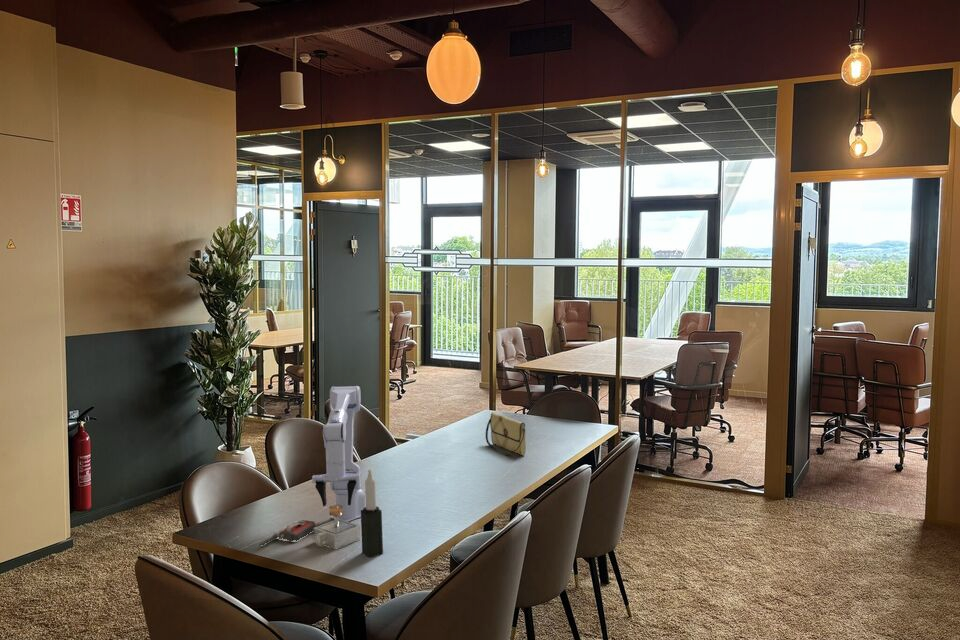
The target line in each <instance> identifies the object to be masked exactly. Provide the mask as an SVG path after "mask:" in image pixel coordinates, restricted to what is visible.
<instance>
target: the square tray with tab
mask: <svg viewBox="0 0 960 640" xmlns="http://www.w3.org/2000/svg"><path fill="white" fill-rule="evenodd" d="M338 521H341V522H344V523H348V524H351V525H354V526H355V527H352V528H349V529H347V530H344V531H341V532H339V533H336V534H333V533H330V532H327V531H324V530H321V529H318V528H319V527H322V526H325V525H327V524H330V523H333V522H334V520H332V521H328V522H326V523H323V524H321V525H319V526H316V527H315V528H313V533H312V534H313V542H314V541H315V542H317V543H316V546H317V547H319V548H322V547H326V546H329V547H331V548H334V549H336V548H338V549H340V548H339V547H341V548H343V547H345V546H344V545H346V546H348V545H350V544H349V543H351V544H353V543H355V542H354V541H356V542H358V541H361V524H357V523H354V522H351V521H349V522H347V521H344V520H341V519H338ZM352 542H353V543H352ZM347 544H348V545H347ZM325 545H326V546H325ZM342 546H343V547H342ZM331 548H330V549H331ZM334 549H333V550H334ZM336 550H337V549H336Z"/></svg>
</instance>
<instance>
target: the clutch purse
mask: <svg viewBox="0 0 960 640" xmlns="http://www.w3.org/2000/svg"><path fill="white" fill-rule="evenodd" d="M489 427H490V430H491V433H490V435H491V436H490V437H491V443H492V444H493V445H495V444H496V446H498V447H500V448H502V447H503V449H505V450H507V449H508V450H507V451H509V452H512V451H513V452H512V453H507V454H508V455H507V456H511V455H512V454H517V453H518V454H517V455H519V454H520V456H521V455H524V456H525V454H526V424H525V422H522V421H519V420H516V419H513V418H510V417H507V416H505V415H501V414H498V413H495V412H492V413H491V414H490V417H489V420H488V422H487V423H486V429H485V441H486V443H487V445H488V446H489V447H490V448H491V449H492V448H494V449H496V448H495V447H494V446H493V445H491V443H490V441H489V437H488V434H489ZM494 449H493V450H494ZM514 452H515V453H514Z"/></svg>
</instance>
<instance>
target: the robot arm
mask: <svg viewBox="0 0 960 640" xmlns="http://www.w3.org/2000/svg"><path fill="white" fill-rule="evenodd" d="M361 394H362V392H361V387H360V386H359V385H356V386H355V385H354V386H349V385H348V386H331V388H330V390H329V401H330V405H331V408H332V410H331V411H330V412H329V416H328V419H327V423H326V424H324V425H323V427H322V428H323V429H322V437H323V442H324V443H323V444H324V445H323V447H324V448H325V461H326V462H325V465H326V469H325V470H326V474H325V473H324V474H317V475H316V474H313V475H312V477H311V482H312V484H315V485H314V486H315V489H316V491H317V492H318V494H319V496H320V499H321V502H322V506H323V507H326V506H327V493H326V492H327V490H326V489H327V483H329V487H330V488H329V489H331V491H333V493H334V494H335V505H342V507H343V514H342V515H339V516H338V519H341V520H344V521H347V522H351V521H354V520H357V519H359V518H360V519H361V510H363V508H365V507H366V495H365V492H364V491H363V489H362V488H361V487H362V470H361V467H360V465H359V464H357V463H355V462H354V458H353V457H354V423H355V422H354V420H355V415H356V413H357V412H360V411H361V404H362V403H361V401H362V399H361V398H362V397H361V396H362V395H361ZM330 518H331V519H333V520H334V516H331V515H330Z"/></svg>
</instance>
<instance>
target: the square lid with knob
mask: <svg viewBox="0 0 960 640" xmlns="http://www.w3.org/2000/svg"><path fill="white" fill-rule="evenodd" d="M328 510H329V511H328V513H329V514H328V515H329V516H330V517H331V516H334V519H333V521H334V522H333V523H330V524H327V525H325V526H322V527H319V528H318V529H321V530H324V531H327V532H330V533H333V534H336V533H339V532H341V531H344V530H347V529H349V528H352V527H355V526H354V525H351V524H348V523H344V522H341V521H338V516H339V515H342V514H343V507H342V505H336V504H332V505H329V507H328Z"/></svg>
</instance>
